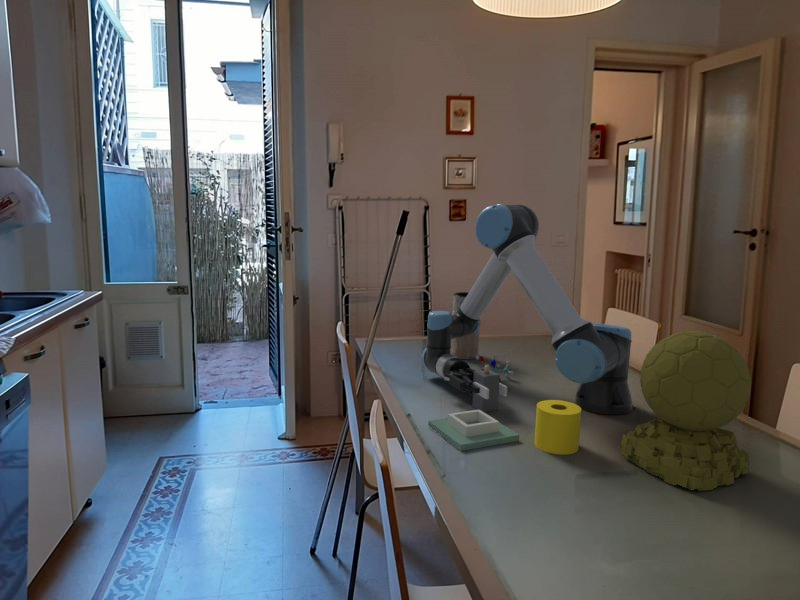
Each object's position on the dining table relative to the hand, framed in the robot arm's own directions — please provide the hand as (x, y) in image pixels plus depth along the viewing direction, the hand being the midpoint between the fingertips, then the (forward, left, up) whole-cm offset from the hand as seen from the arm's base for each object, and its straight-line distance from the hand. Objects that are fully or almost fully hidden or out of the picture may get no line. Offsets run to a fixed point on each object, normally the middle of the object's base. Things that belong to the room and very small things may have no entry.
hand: (496, 392), depth 159 cm
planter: (+37, -48, -6) cm, 60 cm away
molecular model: (+16, -30, -6) cm, 34 cm away
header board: (-1, +15, -6) cm, 17 cm away
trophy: (-46, +2, -6) cm, 47 cm away
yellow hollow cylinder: (-20, +9, -6) cm, 23 cm away
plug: (+5, -3, -6) cm, 8 cm away
